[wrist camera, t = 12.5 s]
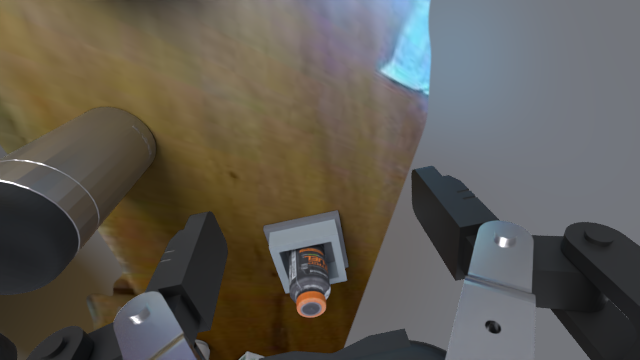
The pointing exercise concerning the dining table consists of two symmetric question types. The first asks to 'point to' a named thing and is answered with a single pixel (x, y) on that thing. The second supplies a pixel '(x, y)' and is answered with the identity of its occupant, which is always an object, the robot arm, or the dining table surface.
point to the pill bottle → (309, 279)
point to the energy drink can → (203, 348)
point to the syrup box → (250, 356)
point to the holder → (308, 243)
